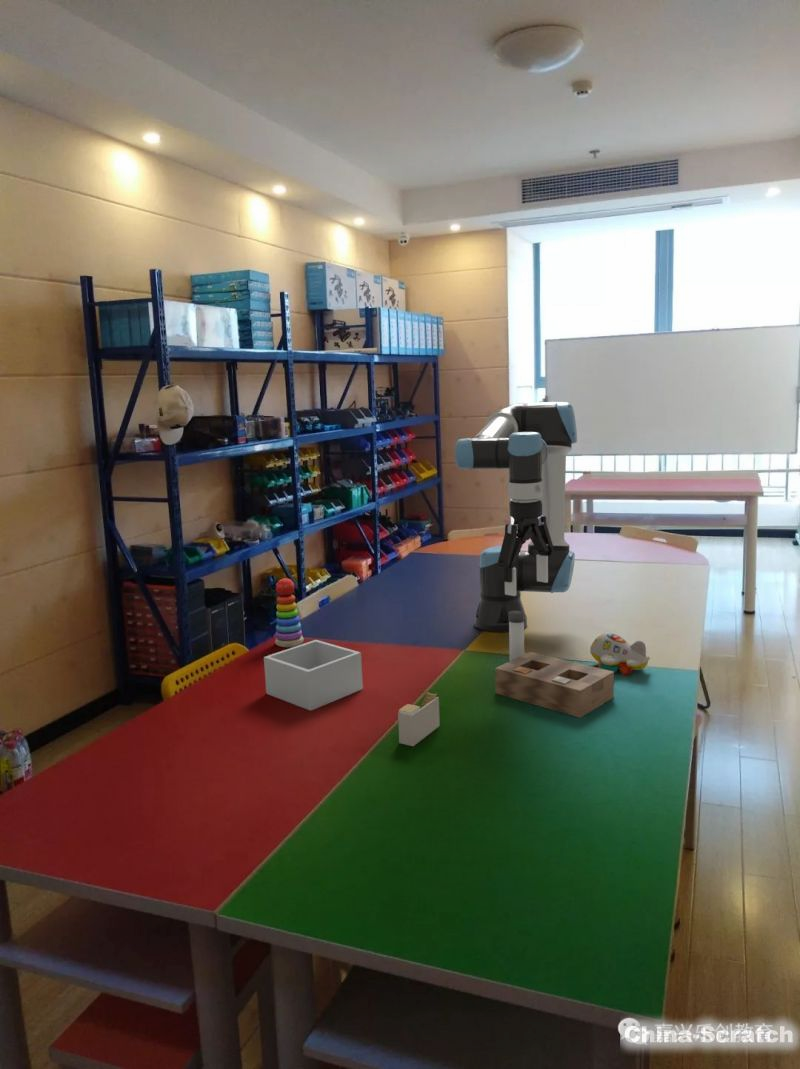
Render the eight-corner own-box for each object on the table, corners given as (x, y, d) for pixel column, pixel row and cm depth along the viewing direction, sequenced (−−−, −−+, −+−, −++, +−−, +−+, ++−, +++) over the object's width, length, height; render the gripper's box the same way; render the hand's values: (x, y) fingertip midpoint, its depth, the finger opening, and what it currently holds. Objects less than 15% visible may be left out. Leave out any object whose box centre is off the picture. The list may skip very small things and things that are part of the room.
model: (399, 745, 157) (397, 708, 155) (426, 724, 165) (425, 690, 164) (413, 748, 155) (411, 711, 153) (439, 727, 164) (438, 692, 162)
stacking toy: (309, 640, 223) (305, 576, 219) (293, 649, 216) (289, 583, 212) (285, 638, 226) (281, 574, 223) (269, 646, 219) (265, 581, 216)
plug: (506, 667, 196) (505, 613, 193) (515, 663, 198) (514, 609, 196) (518, 670, 193) (518, 615, 191) (527, 666, 196) (527, 612, 193)
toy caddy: (266, 693, 185) (263, 657, 183) (318, 674, 196) (316, 639, 195) (310, 710, 174) (308, 671, 172) (362, 689, 185) (360, 652, 184)
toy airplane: (634, 649, 181) (578, 633, 191) (631, 685, 183) (575, 667, 193) (662, 636, 190) (607, 621, 200) (659, 670, 192) (604, 654, 202)
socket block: (495, 693, 180) (495, 666, 179) (530, 675, 190) (530, 650, 188) (580, 717, 165) (580, 689, 164) (613, 697, 175) (613, 670, 173)
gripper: (508, 509, 171) (510, 603, 175) (567, 492, 189) (568, 578, 193) (480, 506, 176) (482, 598, 180) (540, 490, 194) (541, 574, 198)
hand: (526, 588), depth 187 cm, fingers open, 13 cm apart
